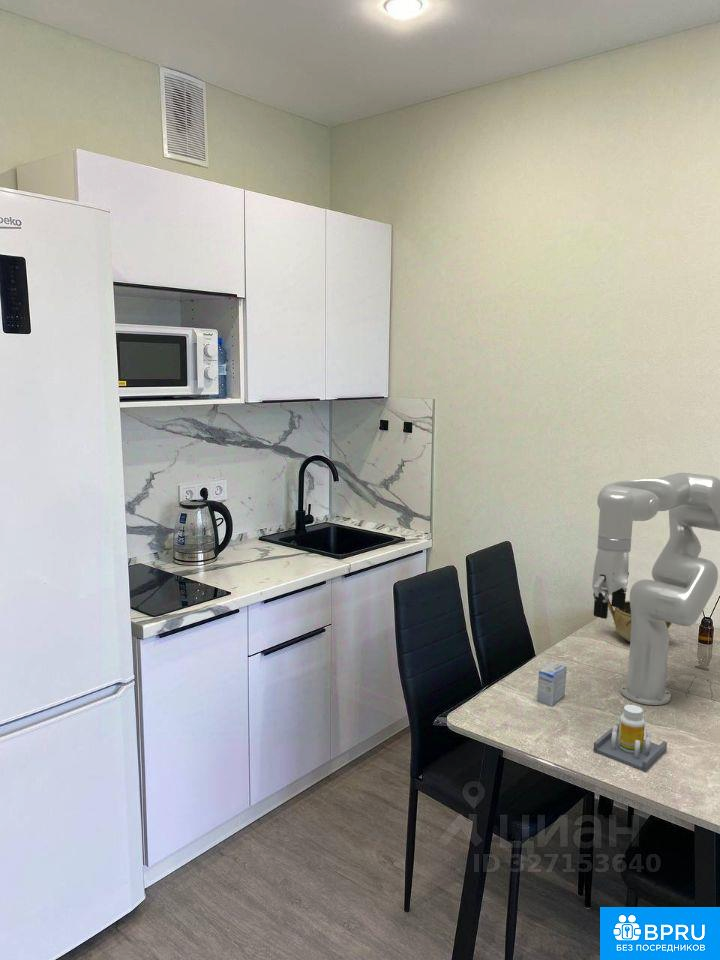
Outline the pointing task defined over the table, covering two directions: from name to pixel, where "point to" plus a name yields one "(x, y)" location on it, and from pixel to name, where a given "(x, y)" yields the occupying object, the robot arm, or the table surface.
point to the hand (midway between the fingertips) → (609, 612)
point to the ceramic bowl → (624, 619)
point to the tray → (638, 760)
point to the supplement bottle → (631, 728)
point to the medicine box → (551, 683)
